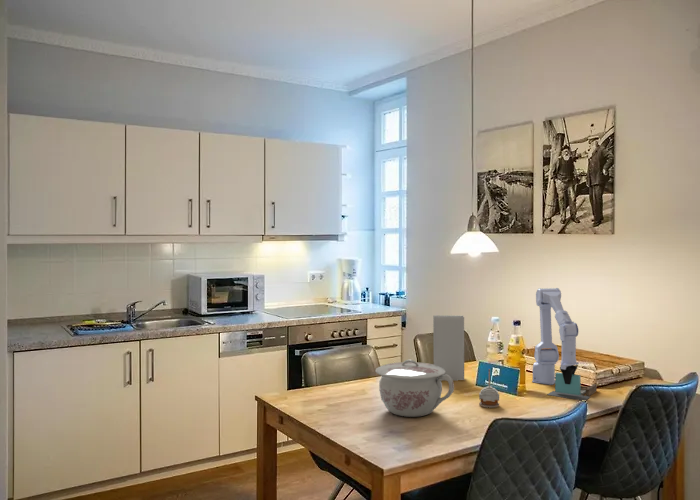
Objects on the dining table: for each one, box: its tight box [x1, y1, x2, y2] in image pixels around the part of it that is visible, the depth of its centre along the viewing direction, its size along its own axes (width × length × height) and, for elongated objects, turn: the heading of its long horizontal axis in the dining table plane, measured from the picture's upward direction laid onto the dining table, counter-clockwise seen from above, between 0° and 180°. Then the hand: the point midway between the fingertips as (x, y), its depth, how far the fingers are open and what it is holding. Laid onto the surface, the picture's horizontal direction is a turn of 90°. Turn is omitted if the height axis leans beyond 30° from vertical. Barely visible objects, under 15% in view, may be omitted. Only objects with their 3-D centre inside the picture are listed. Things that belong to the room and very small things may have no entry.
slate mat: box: [546, 390, 591, 401], centre depth 265 cm, size 16×7×1 cm, turn 53°
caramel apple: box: [478, 368, 500, 409], centre depth 252 cm, size 8×8×15 cm
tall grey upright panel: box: [432, 315, 465, 381], centre depth 297 cm, size 14×6×30 cm, turn 84°
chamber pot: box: [375, 359, 455, 418], centre depth 244 cm, size 28×28×21 cm
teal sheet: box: [554, 372, 582, 395], centre depth 265 cm, size 10×2×8 cm, turn 53°
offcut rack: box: [581, 383, 598, 397], centre depth 273 cm, size 14×11×3 cm
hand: (568, 383), depth 265 cm, fingers closed on teal sheet, 2 cm apart
